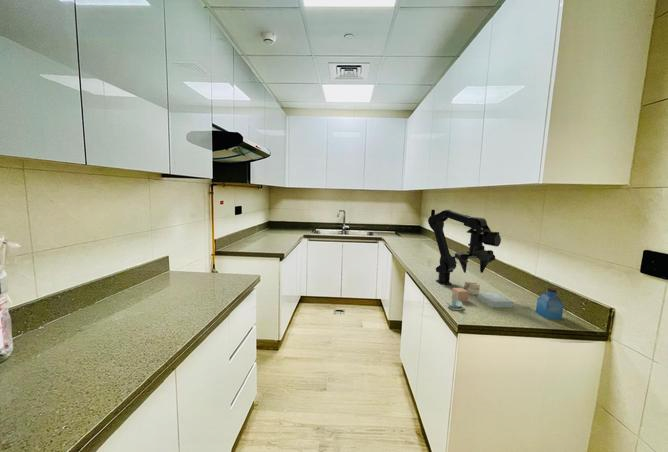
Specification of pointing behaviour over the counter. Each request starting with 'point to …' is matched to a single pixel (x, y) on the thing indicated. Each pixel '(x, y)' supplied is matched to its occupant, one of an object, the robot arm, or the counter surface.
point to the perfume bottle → (550, 305)
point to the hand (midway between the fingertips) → (473, 272)
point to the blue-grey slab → (495, 300)
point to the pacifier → (454, 305)
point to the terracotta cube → (461, 294)
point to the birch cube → (472, 287)
